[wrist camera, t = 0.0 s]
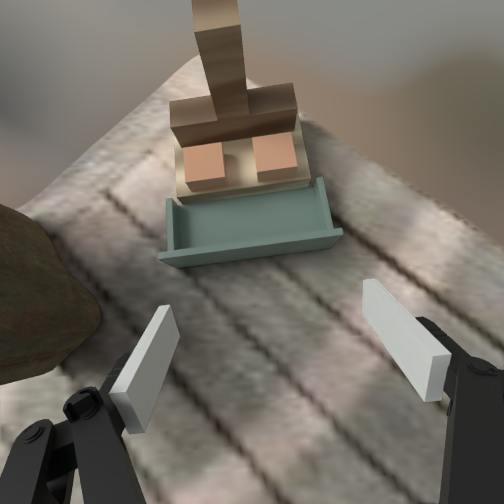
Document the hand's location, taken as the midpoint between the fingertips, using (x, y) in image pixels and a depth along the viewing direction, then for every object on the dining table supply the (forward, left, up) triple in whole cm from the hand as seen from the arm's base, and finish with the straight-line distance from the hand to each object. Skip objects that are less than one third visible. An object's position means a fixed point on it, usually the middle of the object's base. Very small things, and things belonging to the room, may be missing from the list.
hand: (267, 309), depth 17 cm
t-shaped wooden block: (+26, +1, -12) cm, 28 cm away
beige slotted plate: (+22, +1, -15) cm, 27 cm away
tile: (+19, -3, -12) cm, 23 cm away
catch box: (+12, +1, -15) cm, 19 cm away
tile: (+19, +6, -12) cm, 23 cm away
